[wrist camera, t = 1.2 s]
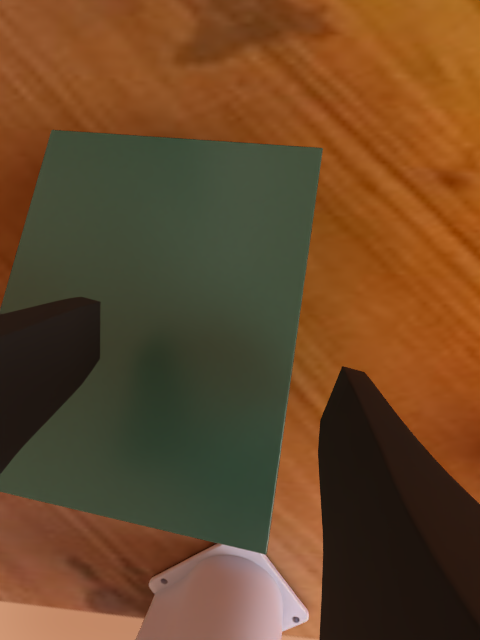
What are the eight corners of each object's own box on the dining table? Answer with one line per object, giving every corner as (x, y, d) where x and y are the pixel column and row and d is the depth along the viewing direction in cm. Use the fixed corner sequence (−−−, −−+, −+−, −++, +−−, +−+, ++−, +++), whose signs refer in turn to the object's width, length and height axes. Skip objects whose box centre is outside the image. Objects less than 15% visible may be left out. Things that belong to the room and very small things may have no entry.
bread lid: (267, 544, 12) (266, 555, 11) (-31, 475, 14) (-50, 480, 13) (320, 160, 14) (322, 147, 14) (62, 141, 16) (51, 129, 15)
